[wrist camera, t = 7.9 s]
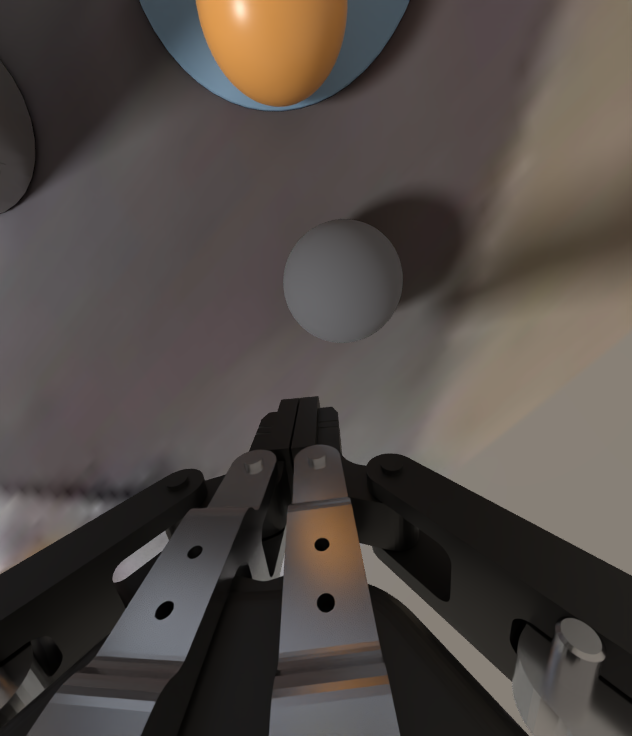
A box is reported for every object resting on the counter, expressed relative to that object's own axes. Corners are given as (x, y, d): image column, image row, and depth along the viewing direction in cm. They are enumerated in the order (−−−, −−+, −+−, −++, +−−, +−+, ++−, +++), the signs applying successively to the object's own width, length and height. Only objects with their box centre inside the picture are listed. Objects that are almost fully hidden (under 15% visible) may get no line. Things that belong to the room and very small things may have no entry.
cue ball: (267, 347, 14) (255, 263, 17) (355, 375, 18) (332, 301, 21) (361, 249, 11) (324, 166, 14) (446, 309, 14) (402, 233, 18)
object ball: (207, 129, 15) (184, -19, 14) (322, 139, 17) (310, 10, 16) (210, 8, 9) (173, -255, 8) (382, 45, 11) (369, -164, 10)
